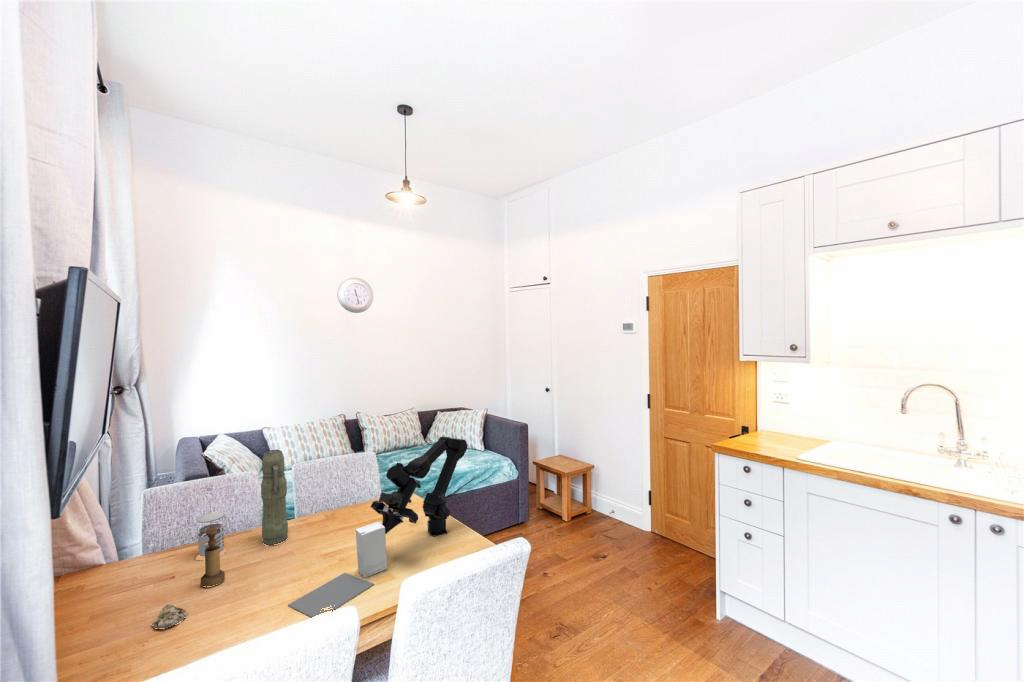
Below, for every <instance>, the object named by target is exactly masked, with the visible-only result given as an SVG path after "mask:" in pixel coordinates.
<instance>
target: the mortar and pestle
mask: <svg viewBox="0 0 1024 682" xmlns="http://www.w3.org/2000/svg"><path fill="white" fill-rule="evenodd" d="M216 533H217V528H216V527H209V528H208V529H207V531H206V533H205V535H207V536H208V537H209V541H208V543H207V544H208V545H209V547H208V548H206V549H205V561H204V562H205V564H204V568H205V571H204V574H203V575H202V576H201V577H200V586H201V585H202V586H206V587H207V586H213V585H216V584H219V583H221V582H223V580H224V579H225V580H226V573H225V571H224V570H222V569H221V556H220V546H215V545H216V540H215V535H216ZM207 536H206V537H207ZM223 583H224V582H223ZM221 584H222V583H221ZM219 585H220V584H219Z"/></svg>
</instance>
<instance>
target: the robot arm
mask: <svg viewBox="0 0 1024 682" xmlns="http://www.w3.org/2000/svg"><path fill="white" fill-rule="evenodd" d="M468 446H469V445H468V442H467V441H466V439H462V438H453V437H450V436H440V437H439V438H438V440H437V441H436V442H435V443H434V444H433V445H432V446H431V447H430V448H429V449H427V451H426V452H425V453H424V454H422V455H421V456H418V457H416V458H413V459H412V460H411V461H409V462H408V463H407V464H406V465H405V466H404V464H403V463H402V462H397V463H396V464H395V465H393V466H391V467H390V468H389V469H388V470H387V472H386V478H387V480H389V481H390V482H391V484H393V485H394V486H395V487H397V490H396V491H395V490H394V491H392V493H387V492H382V491H381V493H380V496H379V500H374V501H372V503H371V505H370V508H371V509H372V510H374V511H375V512H376V513H377V514H379V515H382V523H381V524H382V525H383V526H384V527H385V535H386V534H388V533H389V532H391V531H392V530H394V528H396V527H397V526H398V525H399V524H401V523H403V524H404V518H407V519H408V521H409V523H411V524H417V523H418V520H419V514H417V513H416V512H415V511H414V510H413V509H412V508H407V506H408V504H411V503H412V499H411V498H412V496H413V495H414V492H415V491H416V489H421V488H422V486H421V483H420V482H421V481H420V480H417V479H424V478H425V477H427V475H428V474H429V472H430V471H431V466H432V464H434V463H435V461H437V459H439V458H440V457H441V455H442V454H444V452H445V455H446V456H445V457H446V458H445V460H444V462H443V466H442V468H441V471H440V473H439V476H438V478H437V481H436V483H435V485H434V488H433V490H432V491H431V492H427V493H426V495H425V497H424V500H423V501H422V503H423V504H422V509H423V510H422V511H423V513H424V517H426V518H428V520H427V522H426V523H427V524H426V525H427V532H428V533H429V535H430V536H431V535H432V537H435V536H434V535H436V536H440V535H444V534H443V533H445V534H448V533H447V532H449V531H448V530H447V519H448V518H449V517H450V514H451V511H450V509H449V508H447V506H446V505H447V499H446V493H447V491H448V487H449V485H450V482H451V479H452V477H453V474H454V472H455V469H456V468H457V464H458V462H459V461H460V460H461V459H462V458H463V457H464V456H465V454H466V452H467V450H468ZM415 478H416V479H415ZM439 534H440V535H439Z"/></svg>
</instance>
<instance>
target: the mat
mask: <svg viewBox="0 0 1024 682" xmlns="http://www.w3.org/2000/svg"><path fill="white" fill-rule="evenodd" d="M373 586H375V583H373V582H370V581H368V580H366V579H363V578H360V577H357V576H355V575H353V574H350V573H347V572H343V573H341V574H340V575H338V576H337V577H335V578H333V579H331V580H330V581H329V580H328V582H325V583H324V584H321V585H320V586H319V587H317V588H315V589H313V590H311V591H310V592H308V593H306V594H304V595H303V596H301V597H299V598H297V599H295V600H294V601H292V602H290V603H288V604H287V606H288V607H289V608H291V609H294V610H295V611H297V612H300V613H301V614H303V615H306V616H307V617H310V618H311V617H314V616H316V615H319V614H321V613H324V612H327V611H331V610H334V609H336V610H337V609H339V608H340V607H341V605H342V606H344V605H345V604H347V603H348V602H349V601H352V600H353V599H354V598H356V597H358V596H359V595H360V593H361V594H362V593H364V592H366V591H367V590H369V589H370V588H371V587H373ZM357 595H358V596H357ZM346 602H347V603H346ZM330 605H331V606H332V607H330ZM334 605H335V606H334ZM326 607H330V608H333V609H330V608H328V609H330V610H325V611H324V609H322V608H326ZM321 609H322V610H321ZM320 611H321V612H320ZM334 611H335V610H334Z"/></svg>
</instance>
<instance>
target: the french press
mask: <svg viewBox="0 0 1024 682" xmlns="http://www.w3.org/2000/svg"><path fill="white" fill-rule="evenodd" d="M213 489H214V488H213V486H212V485H211V486H208V487H206V491H212V490H213ZM211 504H212V503H211V501H209V512H206V513H203V514H202V515H201V516H199V517H198V518H197V519H196V521H197V522H198V523H209V524H208V525H205V526H202V527H200V529H198V532H199V533H198V534H197V535H198V536H197V541H198V543H197V544H198V548H197V549H198V554H199V555H200V556H205V549H206V548H208V547H209V545H208V541H209V537H208V536H207V535H206V531H207V529H208V528H209V527H216V528H217V533H216V535H215V540H216V545H215V546H220V552H221V551H223V550H224V548H225V545H224V544H225V543H224V540H225V536H226V535H227V534H228V532H229V531H230V528H231V520H230V518H229V517H227V516H224V513H223V512H220V511H211V507H212V505H211ZM224 519H225V522H226V523H225V524H226V525H225V529H224V528H223V524H221V523H214V524H212V522H214V521H222V522H223V520H224ZM228 522H229V524H228ZM227 527H228V528H227ZM224 533H225V534H224Z"/></svg>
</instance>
